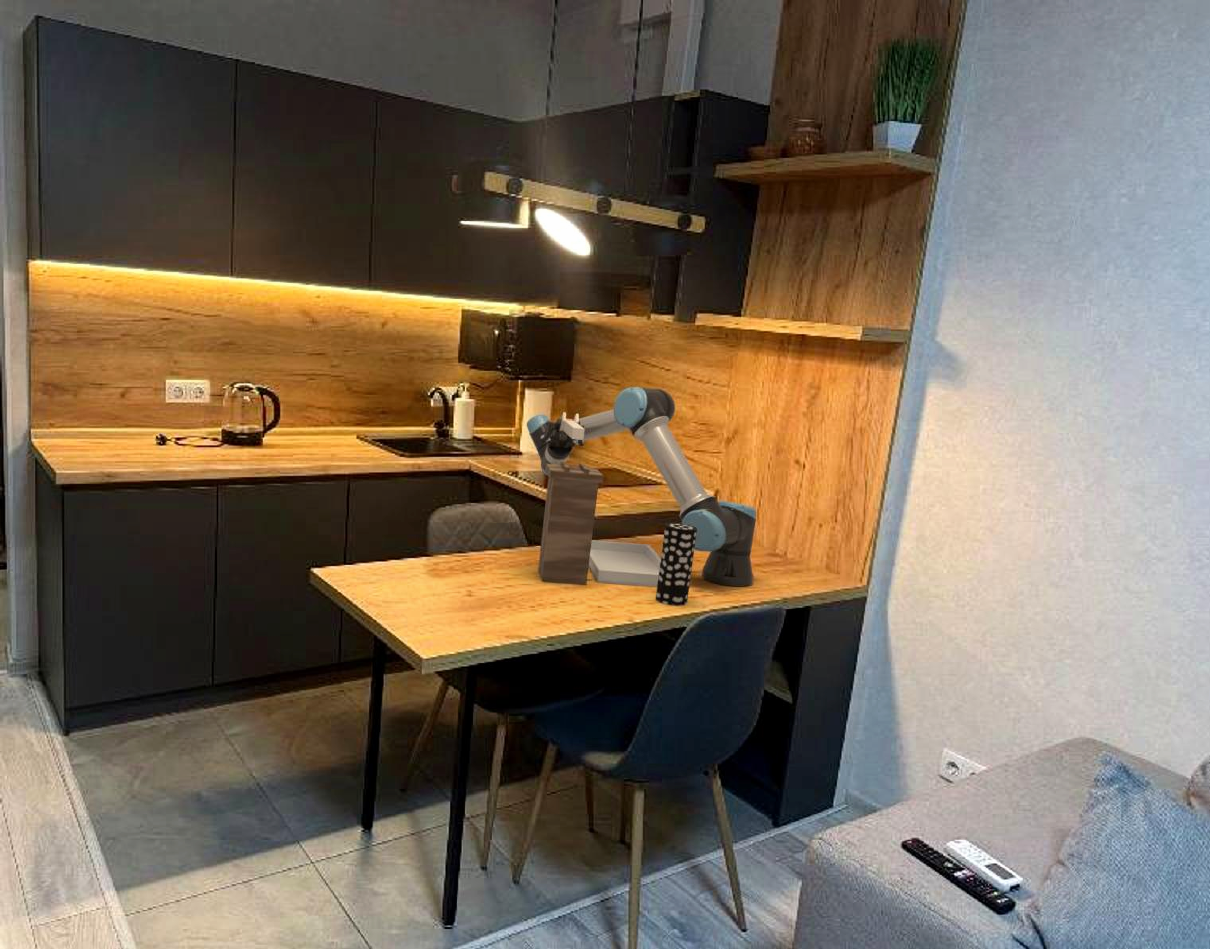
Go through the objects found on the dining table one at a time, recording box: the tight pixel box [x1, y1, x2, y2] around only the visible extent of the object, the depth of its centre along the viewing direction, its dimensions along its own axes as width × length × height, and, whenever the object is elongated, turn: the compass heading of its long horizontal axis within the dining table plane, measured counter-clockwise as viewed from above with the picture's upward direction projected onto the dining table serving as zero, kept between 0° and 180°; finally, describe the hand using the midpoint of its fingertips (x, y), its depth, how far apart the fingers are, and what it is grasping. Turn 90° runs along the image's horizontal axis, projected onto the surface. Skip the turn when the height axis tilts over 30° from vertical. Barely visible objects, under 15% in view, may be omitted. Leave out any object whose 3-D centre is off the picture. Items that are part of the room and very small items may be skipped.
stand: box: [537, 461, 604, 586], centre depth 251 cm, size 13×14×31 cm
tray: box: [588, 539, 661, 588], centre depth 272 cm, size 38×22×4 cm, turn 9°
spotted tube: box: [655, 522, 697, 607], centre depth 241 cm, size 8×8×20 cm
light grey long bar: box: [562, 418, 585, 440], centre depth 260 cm, size 28×3×3 cm, turn 9°
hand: (570, 417), depth 264 cm, fingers closed on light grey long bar, 3 cm apart
